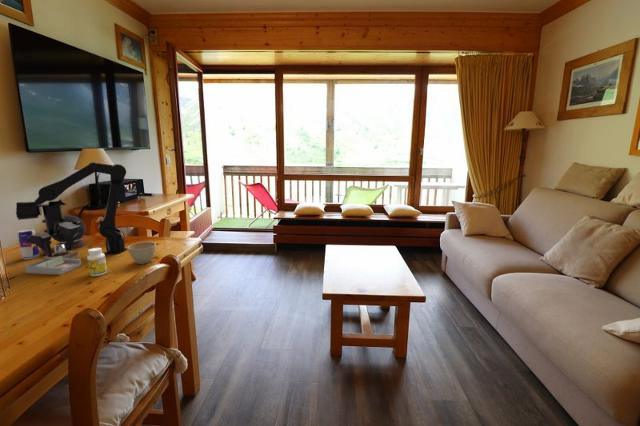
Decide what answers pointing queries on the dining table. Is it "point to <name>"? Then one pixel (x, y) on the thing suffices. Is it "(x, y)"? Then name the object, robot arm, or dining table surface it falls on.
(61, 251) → the peg
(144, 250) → the light gray bowl
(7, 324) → the dining table surface
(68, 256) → the socket board
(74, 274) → the dining table surface
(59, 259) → the lid
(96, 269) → the supplement bottle
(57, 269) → the gray box
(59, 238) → the dark ball on stand
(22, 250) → the energy drink
